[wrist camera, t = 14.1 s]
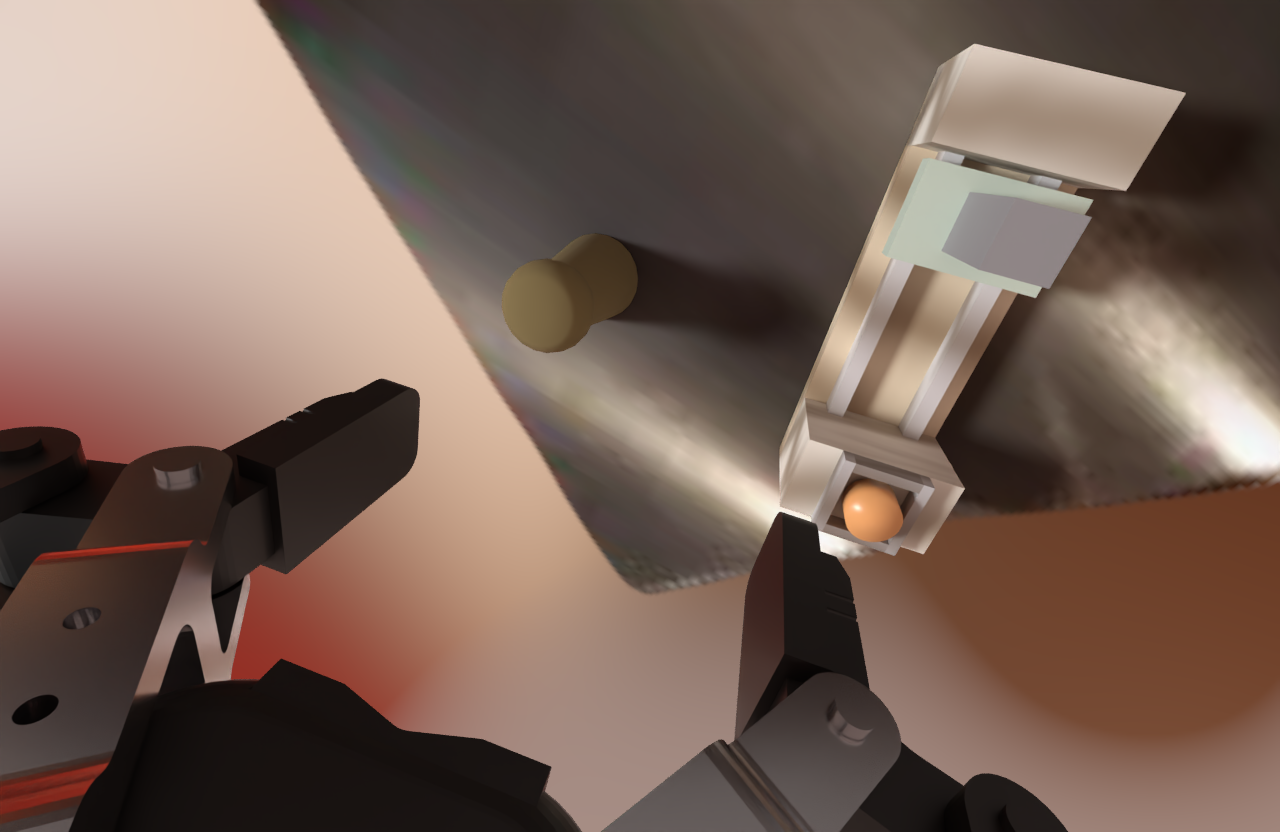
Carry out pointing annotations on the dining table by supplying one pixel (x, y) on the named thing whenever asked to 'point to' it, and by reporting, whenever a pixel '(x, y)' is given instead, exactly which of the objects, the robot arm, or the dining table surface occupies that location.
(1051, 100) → the rail
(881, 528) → the button
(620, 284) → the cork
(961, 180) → the carriage
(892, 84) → the dining table surface
